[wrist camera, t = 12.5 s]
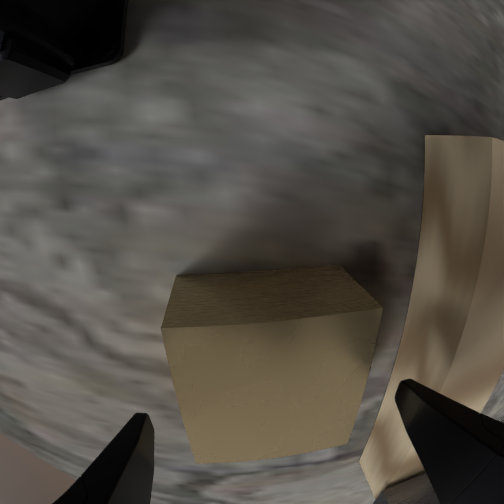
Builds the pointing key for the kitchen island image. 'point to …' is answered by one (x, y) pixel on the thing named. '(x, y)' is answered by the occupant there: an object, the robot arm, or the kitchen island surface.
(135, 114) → the kitchen island surface
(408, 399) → the robot arm
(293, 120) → the kitchen island surface
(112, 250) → the kitchen island surface
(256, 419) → the tan rectangular block
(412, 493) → the dark grey block
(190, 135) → the kitchen island surface
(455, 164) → the body
